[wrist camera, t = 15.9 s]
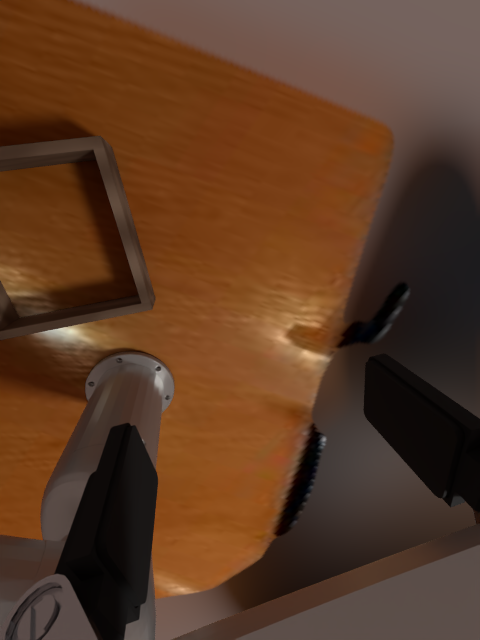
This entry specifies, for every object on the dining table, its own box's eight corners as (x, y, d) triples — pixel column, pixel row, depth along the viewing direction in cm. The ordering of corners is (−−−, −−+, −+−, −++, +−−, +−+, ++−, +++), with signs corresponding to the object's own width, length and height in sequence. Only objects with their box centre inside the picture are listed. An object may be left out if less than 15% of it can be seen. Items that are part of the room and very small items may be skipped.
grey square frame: (155, 298, 36) (152, 309, 32) (14, 326, 34) (-9, 341, 29) (111, 147, 29) (100, 135, 25) (-71, 168, 26) (-117, 159, 22)
